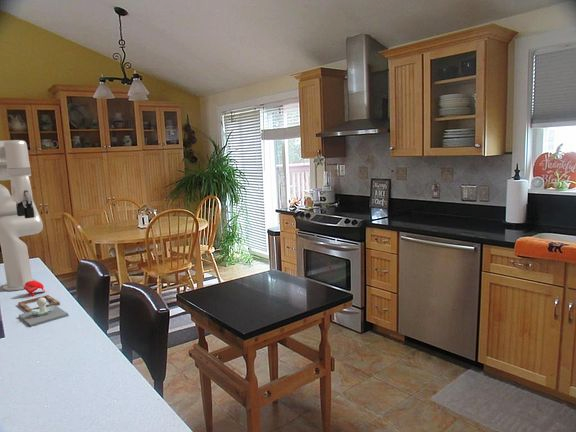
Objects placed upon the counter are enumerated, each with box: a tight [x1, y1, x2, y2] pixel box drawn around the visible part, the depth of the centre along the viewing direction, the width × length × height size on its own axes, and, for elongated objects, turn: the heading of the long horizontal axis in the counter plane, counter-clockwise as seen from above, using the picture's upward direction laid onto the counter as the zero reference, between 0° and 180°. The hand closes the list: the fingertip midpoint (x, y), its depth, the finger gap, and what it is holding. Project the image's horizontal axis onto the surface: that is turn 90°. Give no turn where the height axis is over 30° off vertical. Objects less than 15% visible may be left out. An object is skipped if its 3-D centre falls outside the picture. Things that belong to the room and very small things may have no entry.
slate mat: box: [18, 305, 69, 328], centre depth 153 cm, size 14×12×1 cm
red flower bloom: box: [23, 280, 46, 297], centre depth 179 cm, size 8×6×6 cm
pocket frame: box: [17, 294, 61, 313], centre depth 166 cm, size 14×11×1 cm
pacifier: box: [31, 298, 54, 316], centre depth 153 cm, size 7×6×6 cm
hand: (26, 216), depth 168 cm, fingers open, 9 cm apart
